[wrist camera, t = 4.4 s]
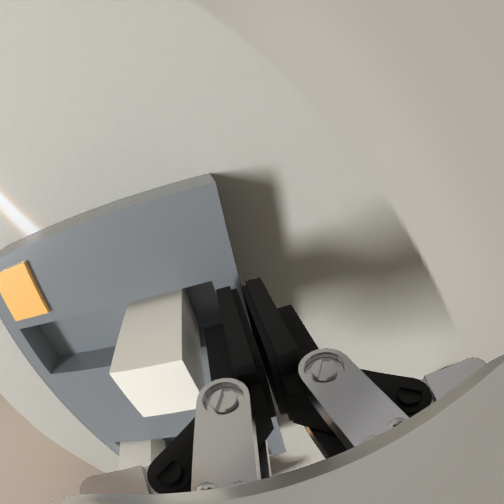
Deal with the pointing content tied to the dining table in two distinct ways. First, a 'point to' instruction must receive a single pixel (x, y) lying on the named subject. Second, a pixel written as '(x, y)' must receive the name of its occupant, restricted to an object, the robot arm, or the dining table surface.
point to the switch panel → (116, 297)
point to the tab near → (159, 355)
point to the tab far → (139, 452)
